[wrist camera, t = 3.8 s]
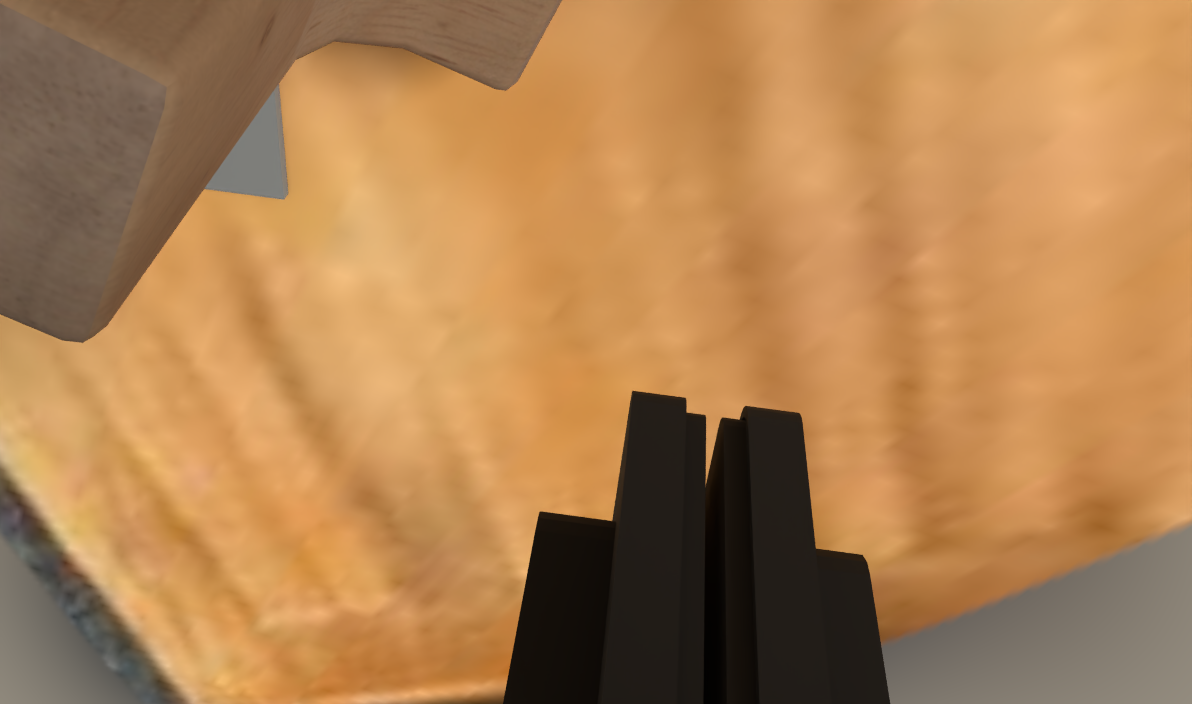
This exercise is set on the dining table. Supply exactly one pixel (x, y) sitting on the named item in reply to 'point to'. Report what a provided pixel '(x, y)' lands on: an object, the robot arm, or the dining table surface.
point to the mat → (257, 157)
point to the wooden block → (172, 119)
